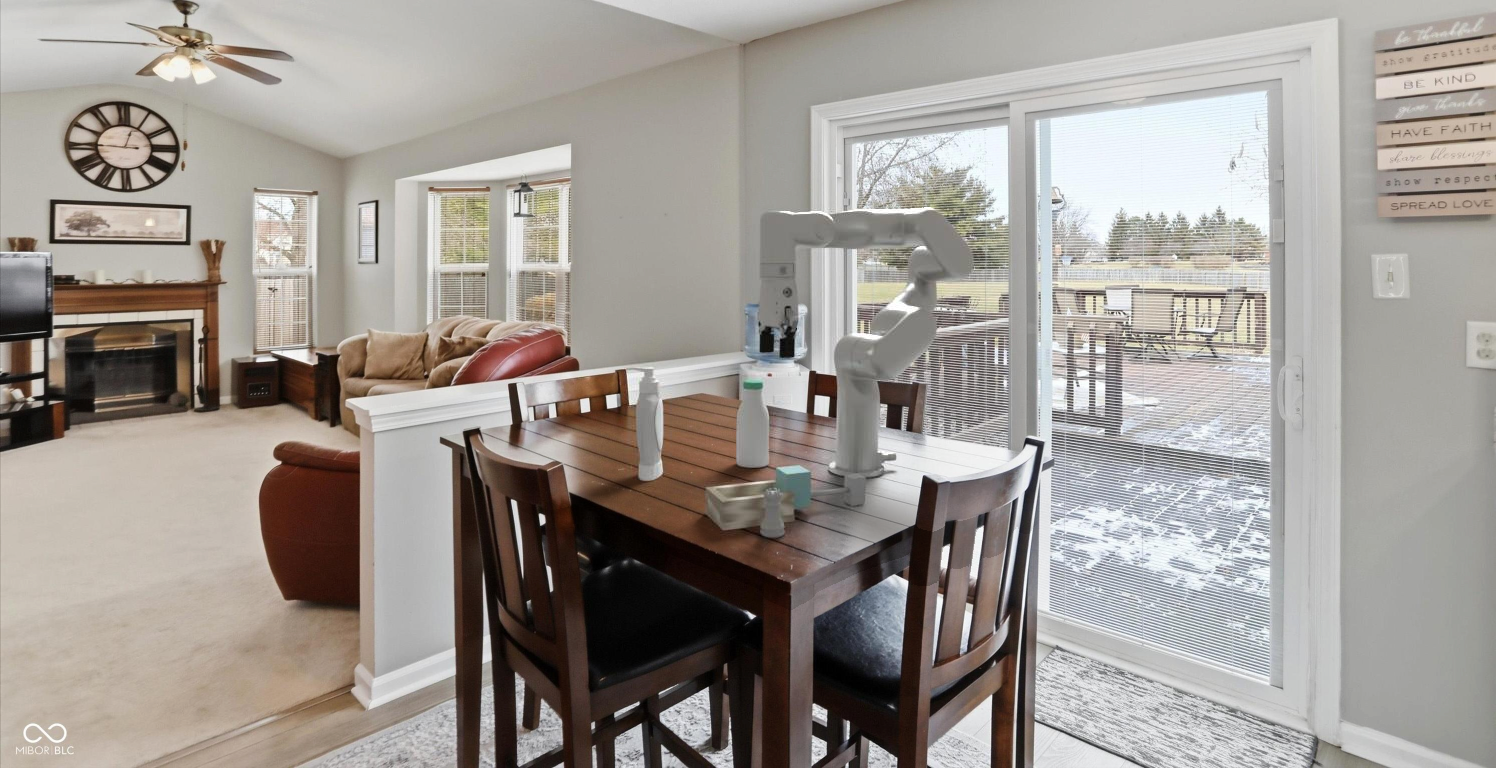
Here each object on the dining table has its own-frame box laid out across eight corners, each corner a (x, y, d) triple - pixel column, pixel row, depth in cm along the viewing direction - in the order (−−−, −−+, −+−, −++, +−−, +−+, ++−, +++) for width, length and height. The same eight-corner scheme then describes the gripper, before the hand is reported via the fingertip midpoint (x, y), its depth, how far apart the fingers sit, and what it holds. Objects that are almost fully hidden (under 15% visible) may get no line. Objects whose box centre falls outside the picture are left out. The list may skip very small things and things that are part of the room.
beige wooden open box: (772, 505, 150) (772, 479, 149) (794, 520, 141) (794, 493, 140) (705, 513, 145) (705, 487, 144) (723, 530, 135) (723, 502, 135)
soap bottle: (635, 466, 177) (633, 363, 174) (668, 468, 177) (667, 363, 173) (620, 482, 165) (618, 371, 161) (655, 483, 164) (654, 371, 160)
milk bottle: (769, 468, 176) (769, 383, 173) (735, 468, 176) (736, 383, 173) (768, 460, 184) (769, 378, 181) (736, 460, 184) (737, 378, 181)
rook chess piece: (768, 527, 137) (769, 484, 136) (789, 532, 134) (790, 489, 133) (754, 535, 133) (755, 491, 132) (776, 540, 131) (776, 495, 130)
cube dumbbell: (854, 498, 154) (855, 459, 152) (867, 505, 149) (868, 465, 148) (775, 508, 147) (775, 467, 146) (786, 516, 143) (786, 474, 141)
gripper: (813, 273, 151) (811, 359, 153) (775, 272, 166) (774, 350, 169) (779, 273, 148) (778, 360, 150) (744, 272, 163) (743, 351, 166)
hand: (776, 354), depth 160 cm, fingers open, 9 cm apart
